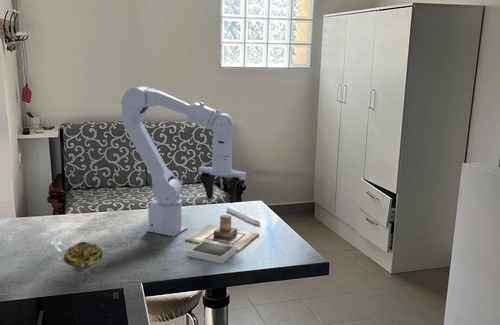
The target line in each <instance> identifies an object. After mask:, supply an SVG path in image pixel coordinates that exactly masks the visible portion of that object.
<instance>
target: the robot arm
mask: <svg viewBox="0 0 500 325" xmlns="http://www.w3.org/2000/svg"><path fill="white" fill-rule="evenodd" d="M120 104H121V108H122V110H121V115H122V116H121V122H122V125H123V127H124V129H125V131H126V133H127V135H128V136H129V138H130V139H131V142H132V144H133V146H135V149H136V151H137V153H138V155H139V156H140V158H141V161H143V163H144V165H145V167H146V170H148V172H149V174H150V176H151V183H152V184H151V185H152V187H153V190H154V193H155V194H154V195H155V200H152V201H151V202H150V204H149V206H148V207H149V208H148V212H147V213H148V228H147V229H146V231H147V232H150V233H154V234H159V235H165V236H170V237H175V236H177V235H178V234H180V233H182V232H184V231H186V230H187V229H188V227H187V226H184V225H182V222H183V221H182V218H183V217H182V210H183V209H182V199H181V197H180V195H181V194H182V192H183V188H184V186H183V183H182V181H181V180H180V179H179V178H177V177H176V176H175V174H174V173H173V171H171V169H169V168H168V167H167V165H166V163H165V161H164V159H163V157H162V155H161V154H160V152H159V150H158V149H157V147H156V145H155V143H154V141H153V139H152V138H151V135H150V134H149V132H148V130H147V128H146V127H145V124H144V122H143V119H144V117H145V114H146V111H147V110H148V109H149V108H151V107H157V106H158V107H159V106H160V107H164V108H166V109H169V110H172V111H174V112H177V113H180V114H182V115H185V116H186V118H187V120H188V121H189V122H190V123H194V124H196V125H198V126H201V127H203V128H206V129H208V130H210V129H211V131H212V132H213V136H212V152H211V153H212V154H211V155H212V156H211V158H212V159H211V160H212V161H211V166H200V167H198V174H199V175H200V176H199V180H200V182H201V183H202V185H203V187H204V192H205V194H206V199H207V200H210V199H212V198H214V184H215V183H214V181H215V177H221V178H222V177H223V178H228V179H229V180H228V186H229V192H230V193H229V202H230V204H234V203H235V202H236V199H237V196H238V194H239V190H240V187H241V186H242V184H243V182H244V180H246V175H247V174H246V172H245V171H241V170H237V169H233V166H232V165H233V131H232V129H233V127H234V123H235V122H234V119H233V117H232V116H231V115H230V114H229V113H228V112H225V111H221V110H220V109H219V108H218V109H213V108H211V107H208V106H207V105H206V103H205V102H202V101H200V102H194V103H191V104H190V103H187V102H186V101H183V100H181V99H178V98H177V97H175V96H172V95H170V94H167V93H165V92H163V91H161V90H158V89H157V88H152V87H151V88H150V87H148V86H146V85H139V86H137V87H129V88H128V89H127V90H125V92H124V94H123V96H122V98H121V101H120Z"/></svg>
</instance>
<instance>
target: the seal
mask: <svg viewBox="0 0 500 325" xmlns="http://www.w3.org/2000/svg"><path fill="white" fill-rule="evenodd" d="M64 258H65V259H64V260H66V262H68V263H69V264H71V265H73V266H76V267H77V266H78V267H84V268H88V267H90V266H92V265H95V264H97V263H98V262H99V261H100V260H102V258H103V250H102V248H101V247H100V246H98V244H96V243H91V242H88V241H79V242H78V243H76V244H74V245H72V246H70V247H68V248H67V249H66V250H65V253H64Z"/></svg>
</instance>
